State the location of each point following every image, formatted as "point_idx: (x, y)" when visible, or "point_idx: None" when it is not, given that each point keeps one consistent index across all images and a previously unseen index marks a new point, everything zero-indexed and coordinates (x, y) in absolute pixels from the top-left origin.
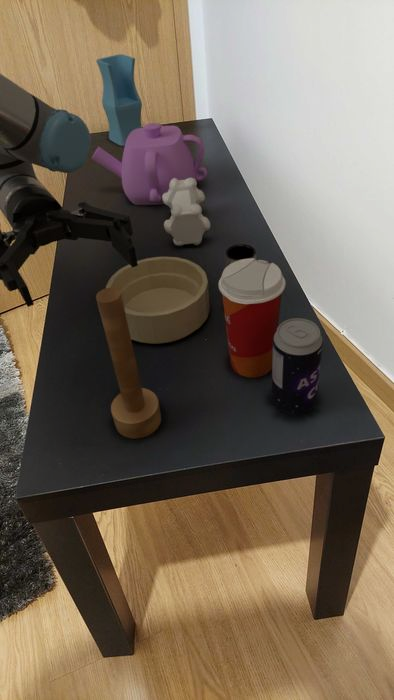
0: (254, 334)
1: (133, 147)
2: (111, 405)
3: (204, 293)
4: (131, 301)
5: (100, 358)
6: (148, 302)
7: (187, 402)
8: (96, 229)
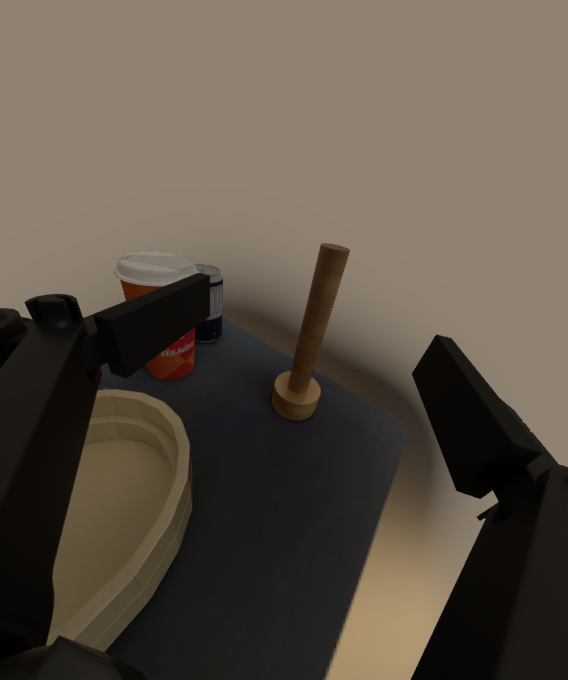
0: None
1: None
2: (315, 400)
3: None
4: None
5: (253, 522)
6: None
7: (248, 383)
8: (68, 396)
